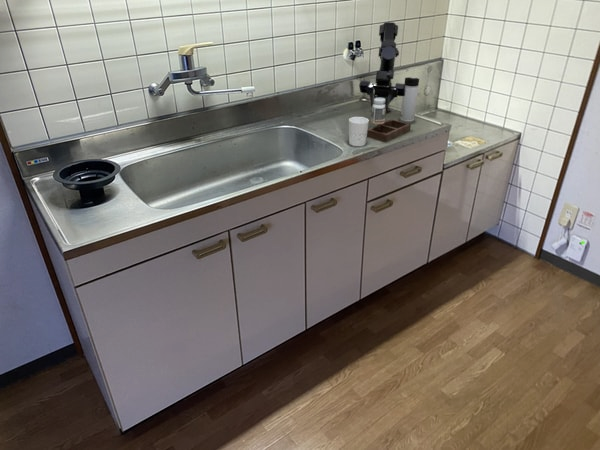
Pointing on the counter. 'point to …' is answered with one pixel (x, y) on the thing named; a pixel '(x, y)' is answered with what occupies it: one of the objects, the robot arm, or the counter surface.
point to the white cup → (358, 131)
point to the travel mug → (409, 100)
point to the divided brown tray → (388, 130)
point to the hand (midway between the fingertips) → (378, 106)
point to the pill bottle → (378, 111)
